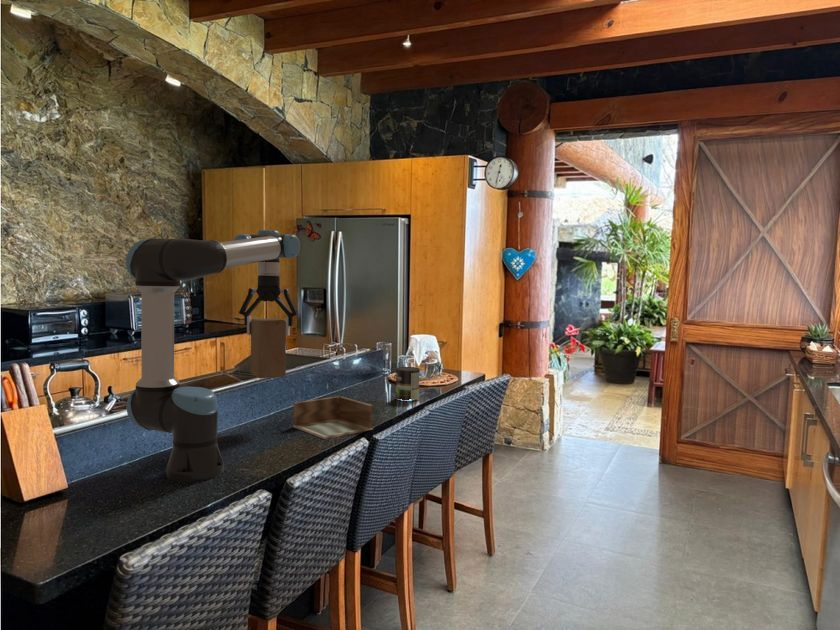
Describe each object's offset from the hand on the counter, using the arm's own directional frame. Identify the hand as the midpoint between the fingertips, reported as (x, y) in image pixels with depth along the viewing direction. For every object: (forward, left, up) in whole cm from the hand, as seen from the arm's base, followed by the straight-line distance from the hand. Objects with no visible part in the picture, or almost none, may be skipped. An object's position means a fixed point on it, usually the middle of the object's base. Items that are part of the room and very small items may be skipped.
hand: (268, 335), depth 226 cm
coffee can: (+68, +3, -33) cm, 76 cm away
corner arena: (+16, -17, -33) cm, 40 cm away
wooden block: (0, 0, -15) cm, 15 cm away
